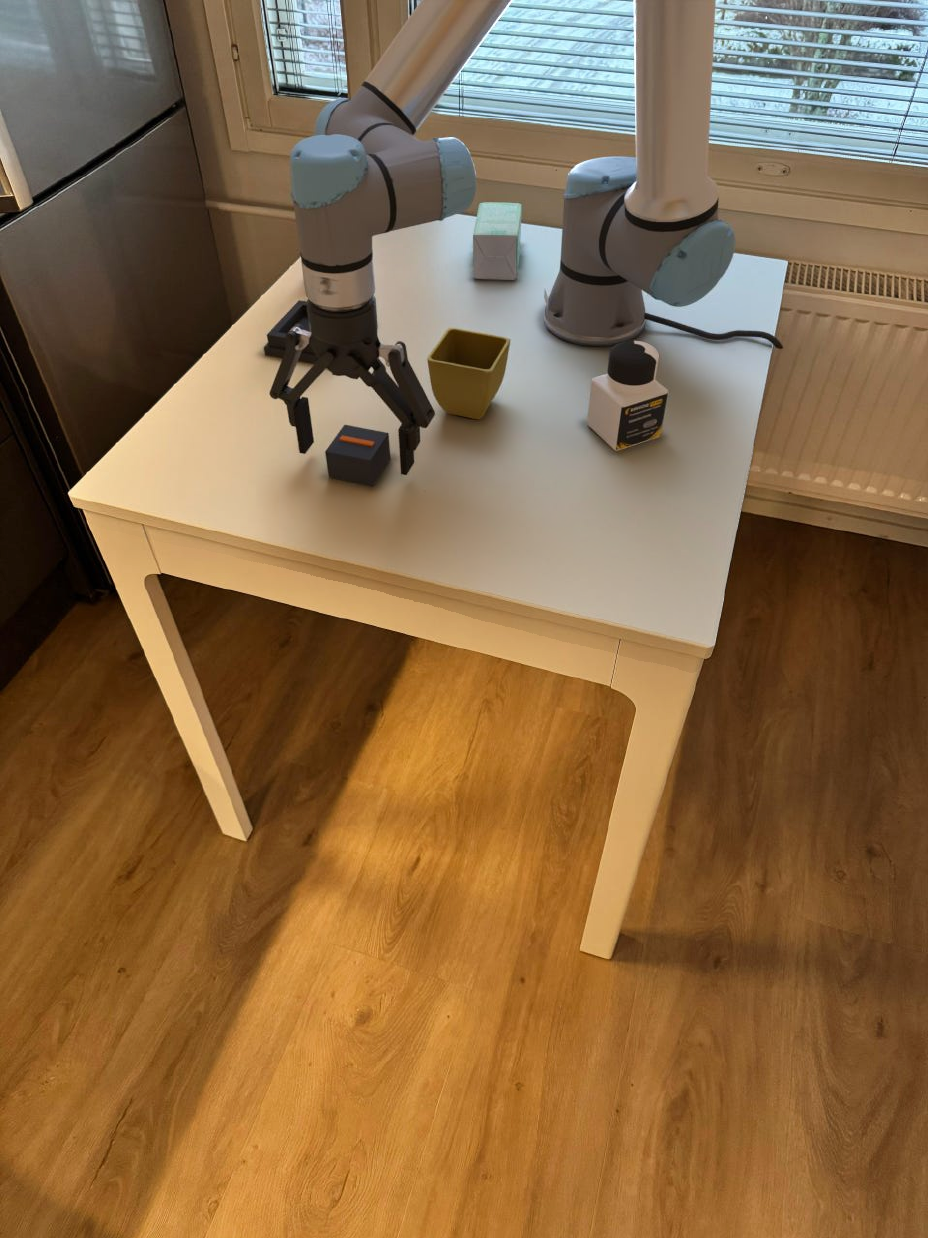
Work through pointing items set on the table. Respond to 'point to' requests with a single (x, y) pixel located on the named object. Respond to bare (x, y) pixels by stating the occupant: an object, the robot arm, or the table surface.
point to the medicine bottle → (628, 397)
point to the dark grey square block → (358, 455)
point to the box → (497, 241)
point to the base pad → (279, 331)
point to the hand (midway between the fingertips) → (356, 457)
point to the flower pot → (467, 371)
